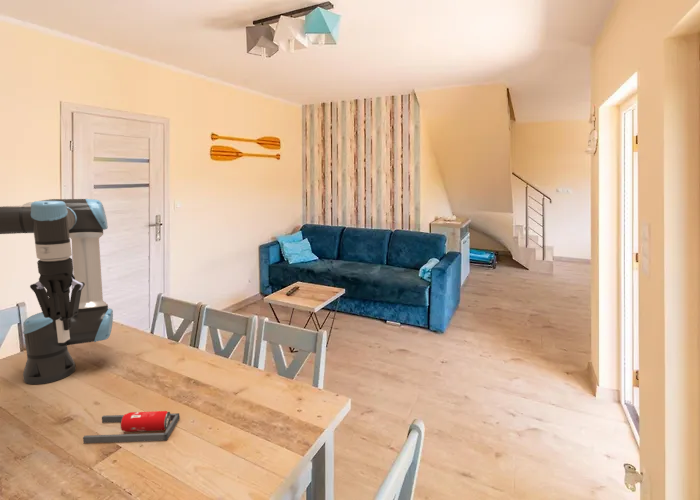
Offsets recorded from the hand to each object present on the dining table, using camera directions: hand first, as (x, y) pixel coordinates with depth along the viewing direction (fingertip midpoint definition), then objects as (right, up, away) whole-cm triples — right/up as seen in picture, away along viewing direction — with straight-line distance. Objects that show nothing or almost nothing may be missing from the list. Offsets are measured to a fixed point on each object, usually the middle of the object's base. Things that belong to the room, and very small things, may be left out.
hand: (64, 340), depth 107 cm
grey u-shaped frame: (+18, -27, +3) cm, 32 cm away
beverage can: (+15, -24, +3) cm, 29 cm away
